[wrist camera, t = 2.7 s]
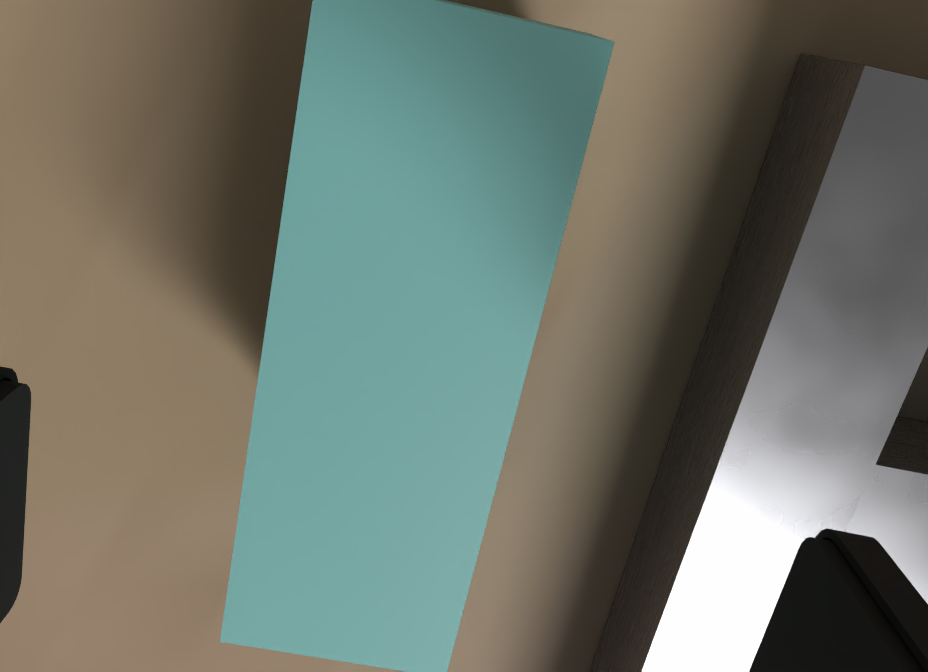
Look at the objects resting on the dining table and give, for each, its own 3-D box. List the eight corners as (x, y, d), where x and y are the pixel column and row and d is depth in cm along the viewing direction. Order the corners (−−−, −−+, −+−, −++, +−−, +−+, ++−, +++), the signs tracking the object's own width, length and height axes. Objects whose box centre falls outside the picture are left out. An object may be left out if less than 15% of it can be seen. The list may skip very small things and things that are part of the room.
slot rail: (556, 768, 25) (570, 866, 22) (801, 53, 18) (865, 65, 15) (945, 828, 26) (1003, 928, 23) (1321, 175, 19) (1470, 208, 16)
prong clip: (285, 456, 21) (220, 641, 15) (363, -22, 17) (316, -28, 11) (446, 485, 22) (444, 678, 16) (558, 23, 18) (614, 41, 12)
